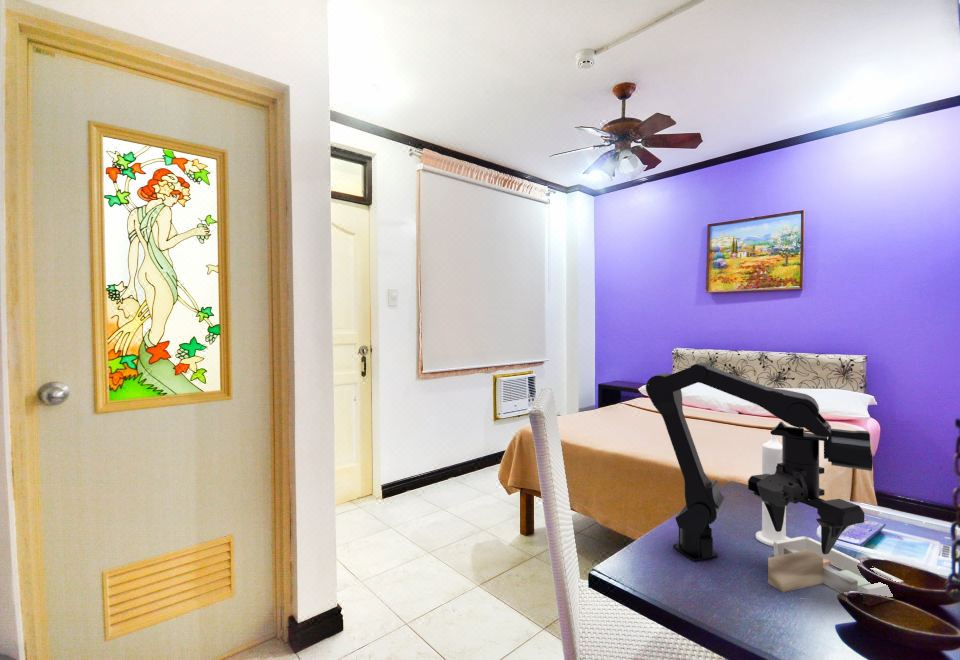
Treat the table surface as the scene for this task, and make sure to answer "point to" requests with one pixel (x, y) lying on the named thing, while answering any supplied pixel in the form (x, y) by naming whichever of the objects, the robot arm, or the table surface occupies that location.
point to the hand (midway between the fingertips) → (800, 541)
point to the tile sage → (860, 579)
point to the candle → (768, 533)
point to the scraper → (805, 572)
